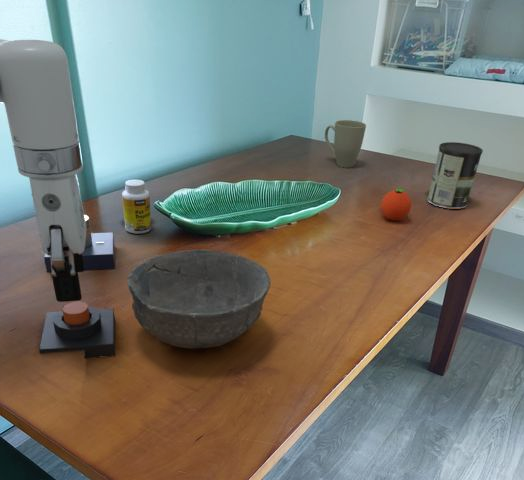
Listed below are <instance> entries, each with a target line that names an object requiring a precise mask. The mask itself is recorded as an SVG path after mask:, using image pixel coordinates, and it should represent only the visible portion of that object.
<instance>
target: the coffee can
mask: <svg viewBox="0 0 524 480" xmlns="http://www.w3.org/2000/svg"><path fill="white" fill-rule="evenodd" d="M483 151H484V150H483V148H481V147H480V146H477V145H475V144H471V143H470V144H469V143H464V142H455V141H454V142H453V141H449V142H442V143H440V144H439V146H438V152H437V156H436V157H437V158H436V162H435V166H434V169H433V173H432V174H433V175H432V178H431V183H430V188H429V191H428V196H427V199H426V201H427V200H428V201H427V203H428V202H429V203H431V204H433V205H435V206H439V207H444V208H463V207H466V206H467V207H468V203H469V200H470V195H471V192H472V189H473V185H474V182H475V178H476V174H477V171H478V168H479V164H480V161H481V157H482V154H483ZM429 203H428V204H429ZM431 204H430V205H431ZM433 205H432V206H433ZM435 206H434V207H435ZM467 207H466V208H467Z"/></svg>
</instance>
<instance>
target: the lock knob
mask: <svg viewBox="0 0 524 480" xmlns="http://www.w3.org/2000/svg"><path fill="white" fill-rule="evenodd" d="M84 217H85V222H86V242H85V248H86V247H89V246H91V245H92V237H91V233H92V231H91V223H90V217H89V216H88V215H87V214H84Z"/></svg>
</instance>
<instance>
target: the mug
mask: <svg viewBox="0 0 524 480" xmlns="http://www.w3.org/2000/svg"><path fill="white" fill-rule="evenodd" d="M366 128H367V124H366V123H365V122H362V121H358V120H352V119H350V120H349V119H342V120H336V121H335V122H334V125H333V124H332V125H328V126H327V127H326V128H325V131H324V140H325V143H326V144H327V146H328V148H329V149H330V151H331V152H332V154H334V156H335V161H336V166H337V165H338V166H337V167H339V166H340V168H343V167H344V169H350V168H353V167H354V165H355V163H356V160H357V158H358V156H359V154H360V152H361V149H362V146H363V142H364V137H365V132H366ZM330 129H331V130H333V131H334V136H333V146H332V144H331V142H330V140H329V135H328V134H329V131H330Z"/></svg>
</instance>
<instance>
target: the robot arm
mask: <svg viewBox="0 0 524 480" xmlns="http://www.w3.org/2000/svg"><path fill="white" fill-rule="evenodd" d="M71 79H72V78H71V73H70V64H69V60H68V56H67V53H66V51H65V50H64V48H63V47H62V46H61V45H60V44H59V43H55V42H54V41H49V40H43V39H11V40H8V39H4V38H3V39H2V38H0V104H4V109H5V113H6V118H7V123H8V127H9V132H10V137H11V142H12V147H13V152H14V157H15V162H16V166H17V171H18V173H19V174H20V175H21V176H23V177H26V178H28V179H29V184H30V191H31V198H32V202H33V203H32V204H33V209H34V213H35V219H36V224H37V230H38V235H39V238H40V243H41V247H42V251H43V253H44V255H45V254H47V255H48V256H50V259H51V269H52V272H51V279H52V284H53V290H54V295H55V300H56V302H58V303H65V302H66V303H67V302H81V300H82V297H83V296H82V290H81V284H80V277H79V273H84V272H85V270H84V263H83V256H82V253H83V252H84V249H85V242H86V222H85V217H84V215H85V213H84V206H83V201H82V195H81V190H80V189H81V188H80V184H79V178H78V174H80V173H82V172H83V170H84V164H83V158H82V151H81V150H82V149H81V145H80V144H81V143H80V138H79V131H78V129H79V128H78V123H77V116H76V109H75V108H76V107H75V102H74V101H75V100H74V95H73V86H72V80H71Z"/></svg>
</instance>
